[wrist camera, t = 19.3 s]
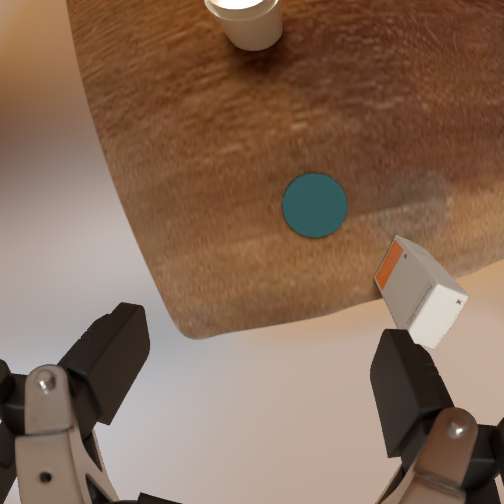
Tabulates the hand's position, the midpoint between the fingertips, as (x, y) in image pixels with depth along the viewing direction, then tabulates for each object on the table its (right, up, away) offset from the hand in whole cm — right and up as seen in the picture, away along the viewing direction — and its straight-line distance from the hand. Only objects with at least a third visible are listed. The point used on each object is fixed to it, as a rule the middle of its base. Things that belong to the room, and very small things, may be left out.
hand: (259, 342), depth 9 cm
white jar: (0, +26, +15) cm, 30 cm away
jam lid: (+6, +8, +20) cm, 22 cm away
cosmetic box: (+17, +2, +23) cm, 29 cm away
